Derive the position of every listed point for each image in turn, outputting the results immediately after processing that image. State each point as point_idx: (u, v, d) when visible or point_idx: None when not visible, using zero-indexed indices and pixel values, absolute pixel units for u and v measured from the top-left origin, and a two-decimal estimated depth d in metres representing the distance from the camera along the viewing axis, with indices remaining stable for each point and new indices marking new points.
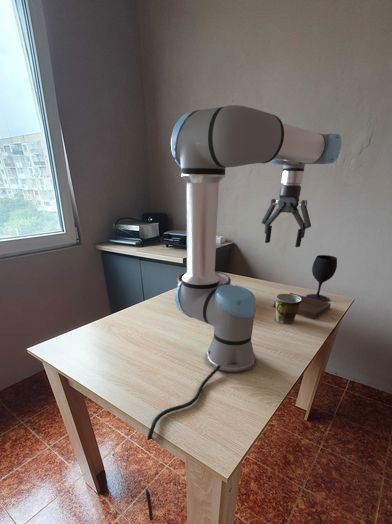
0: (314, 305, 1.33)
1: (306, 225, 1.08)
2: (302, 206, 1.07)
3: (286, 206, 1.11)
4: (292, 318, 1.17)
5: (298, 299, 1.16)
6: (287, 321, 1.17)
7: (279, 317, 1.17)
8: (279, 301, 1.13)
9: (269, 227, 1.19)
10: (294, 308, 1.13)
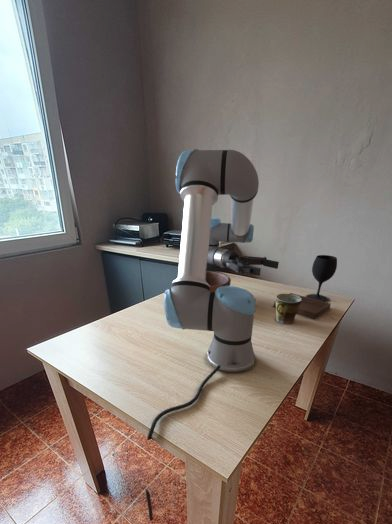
0: (314, 305, 1.33)
1: None
2: (248, 256, 1.26)
3: (240, 259, 1.22)
4: (292, 318, 1.17)
5: (298, 299, 1.16)
6: (287, 321, 1.17)
7: (279, 317, 1.17)
8: (279, 301, 1.13)
9: None
10: (294, 308, 1.13)
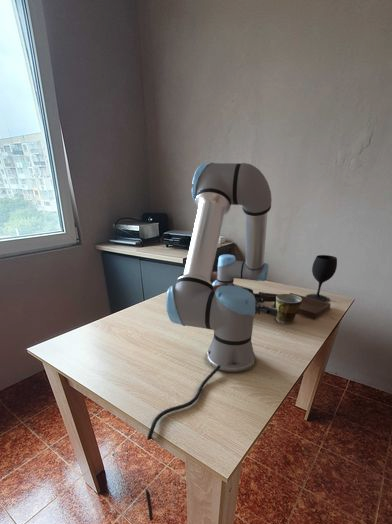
0: (314, 305, 1.33)
1: None
2: (263, 293, 1.28)
3: (255, 297, 1.24)
4: (293, 318, 1.16)
5: (298, 299, 1.17)
6: (288, 321, 1.17)
7: (280, 317, 1.17)
8: (280, 301, 1.13)
9: None
10: (295, 308, 1.13)
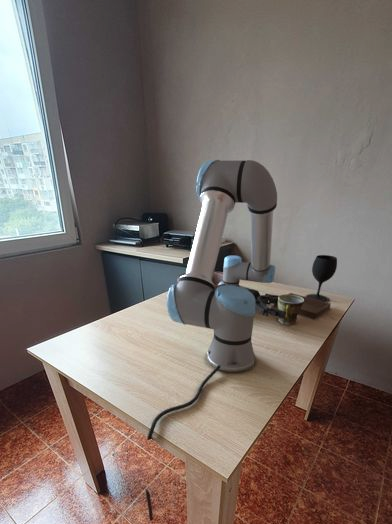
0: (314, 305, 1.33)
1: None
2: (269, 294, 1.26)
3: (262, 298, 1.22)
4: None
5: (298, 298, 1.17)
6: (292, 322, 1.16)
7: (284, 319, 1.16)
8: (286, 303, 1.11)
9: None
10: (300, 308, 1.13)
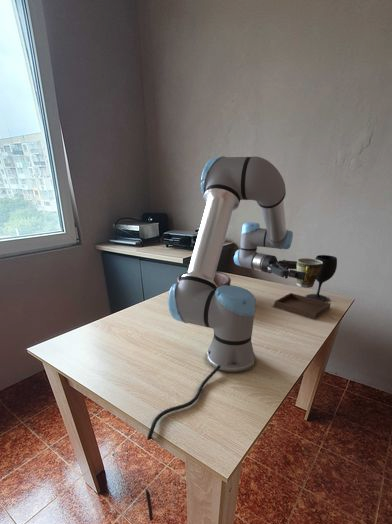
0: (314, 305, 1.33)
1: None
2: None
3: (280, 263, 1.24)
4: (314, 281, 1.19)
5: (316, 262, 1.19)
6: (311, 284, 1.18)
7: (303, 282, 1.18)
8: (305, 265, 1.13)
9: None
10: (319, 270, 1.15)
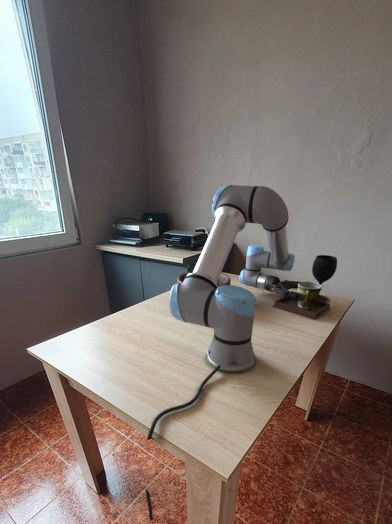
0: (314, 305, 1.33)
1: None
2: None
3: (282, 284, 1.34)
4: (314, 303, 1.29)
5: (315, 285, 1.29)
6: (311, 306, 1.28)
7: (304, 304, 1.28)
8: (305, 289, 1.23)
9: None
10: (318, 293, 1.25)
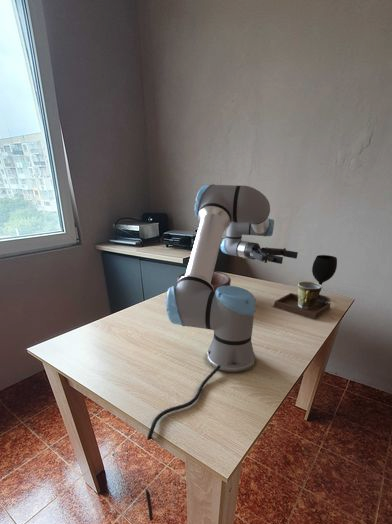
0: (314, 305, 1.33)
1: (283, 249, 1.37)
2: (269, 248, 1.39)
3: (262, 250, 1.34)
4: (314, 303, 1.29)
5: (315, 285, 1.29)
6: (311, 306, 1.28)
7: (304, 304, 1.28)
8: (305, 289, 1.23)
9: None
10: (318, 293, 1.25)
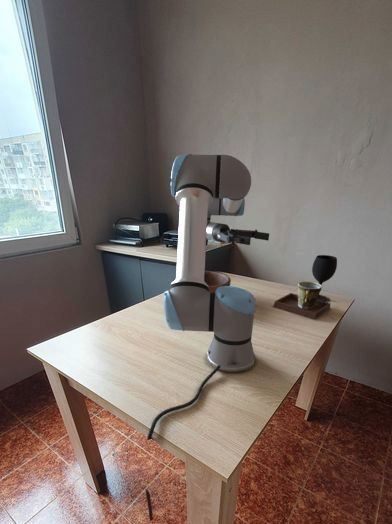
0: (314, 305, 1.33)
1: None
2: None
3: (231, 231, 1.22)
4: (314, 303, 1.29)
5: (315, 285, 1.29)
6: (311, 306, 1.28)
7: (304, 304, 1.28)
8: (305, 289, 1.23)
9: None
10: (318, 293, 1.25)
